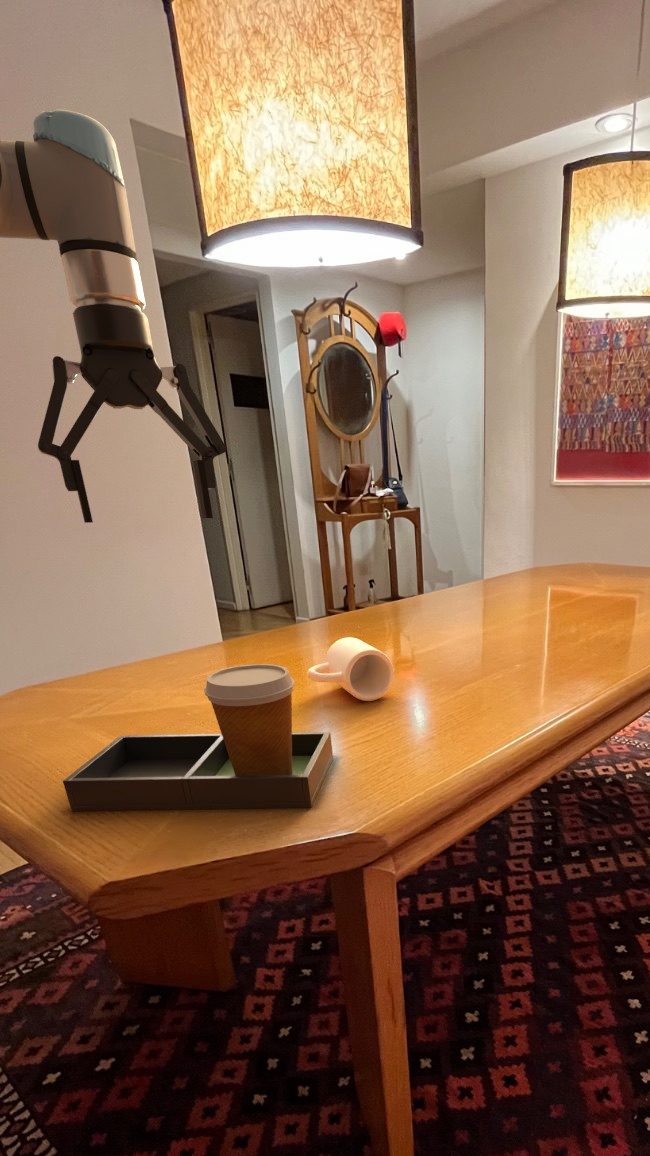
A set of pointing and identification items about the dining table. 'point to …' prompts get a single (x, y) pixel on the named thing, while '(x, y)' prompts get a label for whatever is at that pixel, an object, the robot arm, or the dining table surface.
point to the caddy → (193, 775)
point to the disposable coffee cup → (254, 717)
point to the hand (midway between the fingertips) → (150, 520)
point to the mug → (356, 669)
